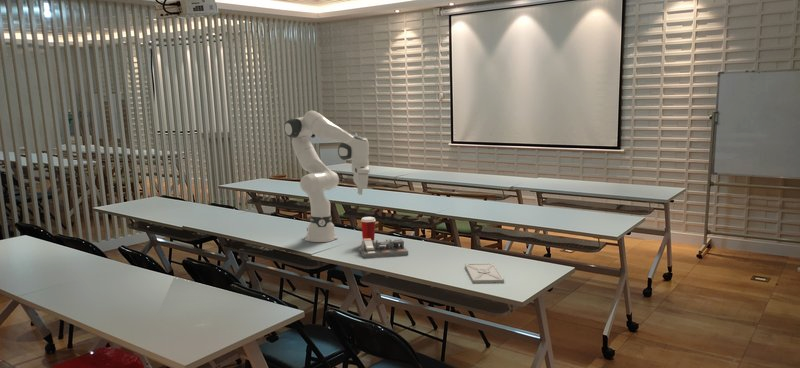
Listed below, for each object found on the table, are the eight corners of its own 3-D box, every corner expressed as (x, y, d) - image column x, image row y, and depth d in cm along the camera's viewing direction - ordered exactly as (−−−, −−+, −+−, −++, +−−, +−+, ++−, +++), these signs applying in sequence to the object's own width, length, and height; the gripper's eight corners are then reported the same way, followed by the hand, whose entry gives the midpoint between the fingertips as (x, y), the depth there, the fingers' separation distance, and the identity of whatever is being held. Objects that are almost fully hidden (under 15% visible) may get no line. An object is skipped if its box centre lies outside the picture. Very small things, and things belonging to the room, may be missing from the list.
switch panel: (359, 251, 310) (359, 240, 309) (401, 248, 315) (401, 237, 314) (364, 257, 296) (364, 246, 295) (408, 254, 302) (408, 244, 301)
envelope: (473, 284, 256) (504, 284, 257) (473, 279, 256) (504, 279, 256) (464, 267, 280) (493, 267, 280) (465, 263, 279) (493, 262, 280)
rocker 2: (377, 245, 311) (377, 242, 311) (384, 244, 312) (384, 242, 312) (380, 244, 302) (380, 241, 302) (388, 243, 302) (388, 241, 303)
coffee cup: (376, 243, 326) (376, 216, 324) (374, 246, 318) (374, 219, 316) (362, 242, 327) (361, 216, 325) (359, 246, 319) (359, 219, 317)
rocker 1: (363, 240, 309) (363, 238, 309) (370, 240, 310) (370, 238, 310) (366, 250, 301) (366, 248, 300) (374, 250, 301) (374, 247, 301)
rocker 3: (391, 245, 313) (390, 243, 313) (398, 245, 314) (398, 242, 314) (395, 242, 303) (394, 239, 304) (402, 241, 304) (402, 239, 305)
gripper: (350, 165, 312) (350, 190, 314) (357, 170, 293) (357, 197, 295) (362, 165, 314) (362, 190, 316) (370, 170, 294) (369, 197, 297)
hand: (359, 194), depth 305 cm, fingers closed
